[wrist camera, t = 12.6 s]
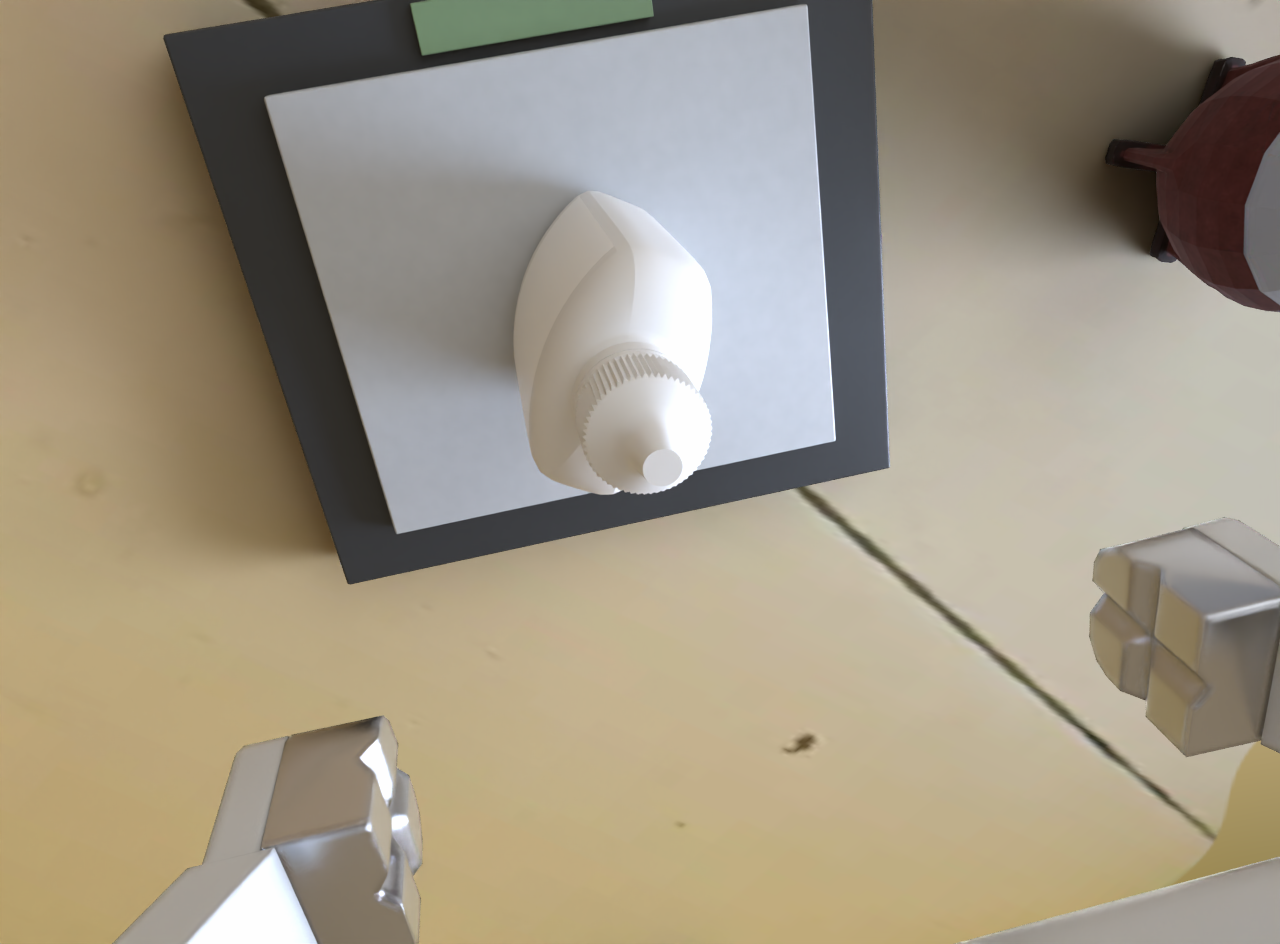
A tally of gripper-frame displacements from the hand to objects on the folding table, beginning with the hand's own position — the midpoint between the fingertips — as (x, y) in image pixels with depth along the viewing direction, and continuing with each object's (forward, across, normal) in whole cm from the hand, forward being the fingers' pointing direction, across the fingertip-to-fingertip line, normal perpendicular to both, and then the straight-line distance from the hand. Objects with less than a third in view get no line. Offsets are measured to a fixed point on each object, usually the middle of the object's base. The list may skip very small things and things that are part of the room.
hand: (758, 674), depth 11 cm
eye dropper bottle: (+18, 0, 0) cm, 18 cm away
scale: (+21, 0, 0) cm, 21 cm away
